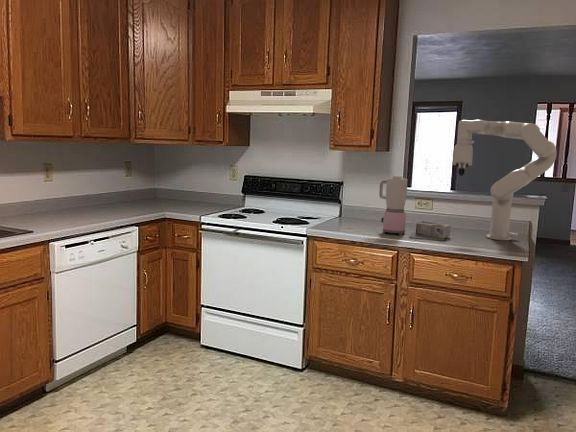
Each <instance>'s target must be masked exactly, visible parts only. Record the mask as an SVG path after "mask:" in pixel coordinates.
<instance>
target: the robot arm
mask: <svg viewBox="0 0 576 432" xmlns="http://www.w3.org/2000/svg"><path fill="white" fill-rule="evenodd" d="M473 134H479V135H486V136H496V137H502V138H507V139H508V138H509V139H514V140H515V139H516V140H523V141H524V142H525V143H526V145H527V146H528V147H529V149H531V150H532V151H533V153H534V154H535V155H536V157H535V158H534V159H532V160H530V162H528V163H527V164H525V165H523V166H522V167H521V168H518V169H514V170H512V171H511V172H509V173H508V174H506V175H505V176H503V177H502V178H501V179H499V180H497V181H496V182H494V183H493V184H492V186H491V188H490V195H491V196H492V197H493V199H492V206H491V214H490V217H491V218H490V226H489V227H490V228H489V233H488V234H486V238H487V239H490V240H497V241H511V240H512V237H515V238H518V236H519V233H518V232H511V231H510V223H511V212H512V204H513V197H514V193H515V192H518V191H519V190H520V189H522V188H523V187H526V186H527V185H528V184H530V183H531V182H532V181H535V179H537V178H539V177H540V176H541V175H542V174H544V173H545V172H547V171H548V170H549V169H550V168H552V166H553V165H554V164H555V161H556V159H557V153H558V152H557V147H556V145H555V144H554V142H552V141H550V140H549V139H548V138H547V137H546V136H545V135H544V133H542V131H541V129H540V126H538V124H535V123H532V122H530V123H528V122H516V121H491V120H483V119H473V120H468V119H462V120H459V121H458V127H457V139H456V144H455V146H454V149H453V156H452V157H453V158H452V164H451V165H454V166H456V167H457V168H458V174H459V176H462V177H463V175H465V169H466V168H467V167H469V166H473V153H474V150H473V145H472V144H475V140H472V138H473V137H472V136H473ZM462 164H463V167H462V166H461V165H462Z"/></svg>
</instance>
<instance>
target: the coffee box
mask: <svg viewBox="0 0 576 432" xmlns="http://www.w3.org/2000/svg"><path fill="white" fill-rule="evenodd" d="M415 225H416V227H415V233H416V234H420V235H426V236H432V237H438V238H445V239H446V238H447V237H451V228H452V227H451V224H446V223H445V224H444V223H438V222H430V221H424V220H423V221H420V222H416V224H415Z"/></svg>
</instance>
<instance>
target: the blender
mask: <svg viewBox="0 0 576 432" xmlns="http://www.w3.org/2000/svg"><path fill="white" fill-rule="evenodd" d="M408 181H409V179H407V178H404V177H403V176H402V175H392V177H388V178H386V180H382V181H381V182H380V183H379V198H380V199H383V200H385V202H386V210H385V211H384V212H383V217H381V220H380V222H381V223H383V224H382V233H383V234H386V233H389V234H390V233H391V234H398V235H399V236H402V235H404V234H405V233H406V221H407V216H406V213H405V205H406V202H407V196H408V194H407V193H408ZM384 184H386V187H385V195H383V191H384V190H383V189H384V188H383V187H384Z"/></svg>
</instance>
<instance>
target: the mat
mask: <svg viewBox="0 0 576 432" xmlns="http://www.w3.org/2000/svg"><path fill="white" fill-rule="evenodd" d="M409 239H414V240H415V239H416V240H417V239H418V240H428V241H437V242H438V241H439V242H445V240H446V238H438V237H432V236H426V235H420V234H416V232H413V231H411V233H410V235H409Z"/></svg>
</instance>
